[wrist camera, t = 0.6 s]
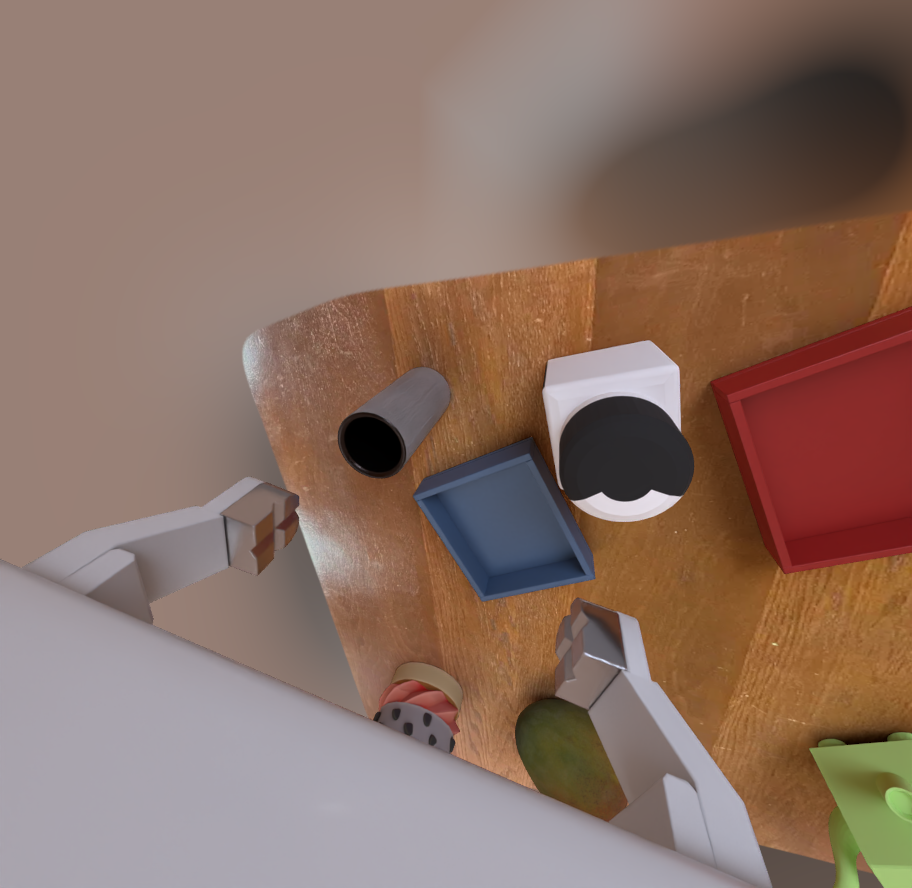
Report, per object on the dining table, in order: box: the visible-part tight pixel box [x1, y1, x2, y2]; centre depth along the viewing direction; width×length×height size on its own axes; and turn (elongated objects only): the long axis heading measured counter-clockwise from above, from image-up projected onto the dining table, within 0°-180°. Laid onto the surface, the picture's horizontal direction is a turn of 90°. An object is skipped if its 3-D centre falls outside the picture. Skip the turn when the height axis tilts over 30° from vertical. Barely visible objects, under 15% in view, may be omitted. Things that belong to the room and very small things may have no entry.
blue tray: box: [413, 437, 595, 602], centre depth 33 cm, size 13×11×3 cm
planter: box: [338, 367, 450, 478], centre depth 27 cm, size 4×4×10 cm
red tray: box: [710, 306, 912, 574], centre depth 24 cm, size 15×13×3 cm
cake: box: [373, 662, 463, 754], centre depth 44 cm, size 10×11×15 cm
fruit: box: [515, 699, 628, 822], centre depth 41 cm, size 12×13×10 cm
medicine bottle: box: [542, 340, 694, 522], centre depth 23 cm, size 7×7×12 cm
